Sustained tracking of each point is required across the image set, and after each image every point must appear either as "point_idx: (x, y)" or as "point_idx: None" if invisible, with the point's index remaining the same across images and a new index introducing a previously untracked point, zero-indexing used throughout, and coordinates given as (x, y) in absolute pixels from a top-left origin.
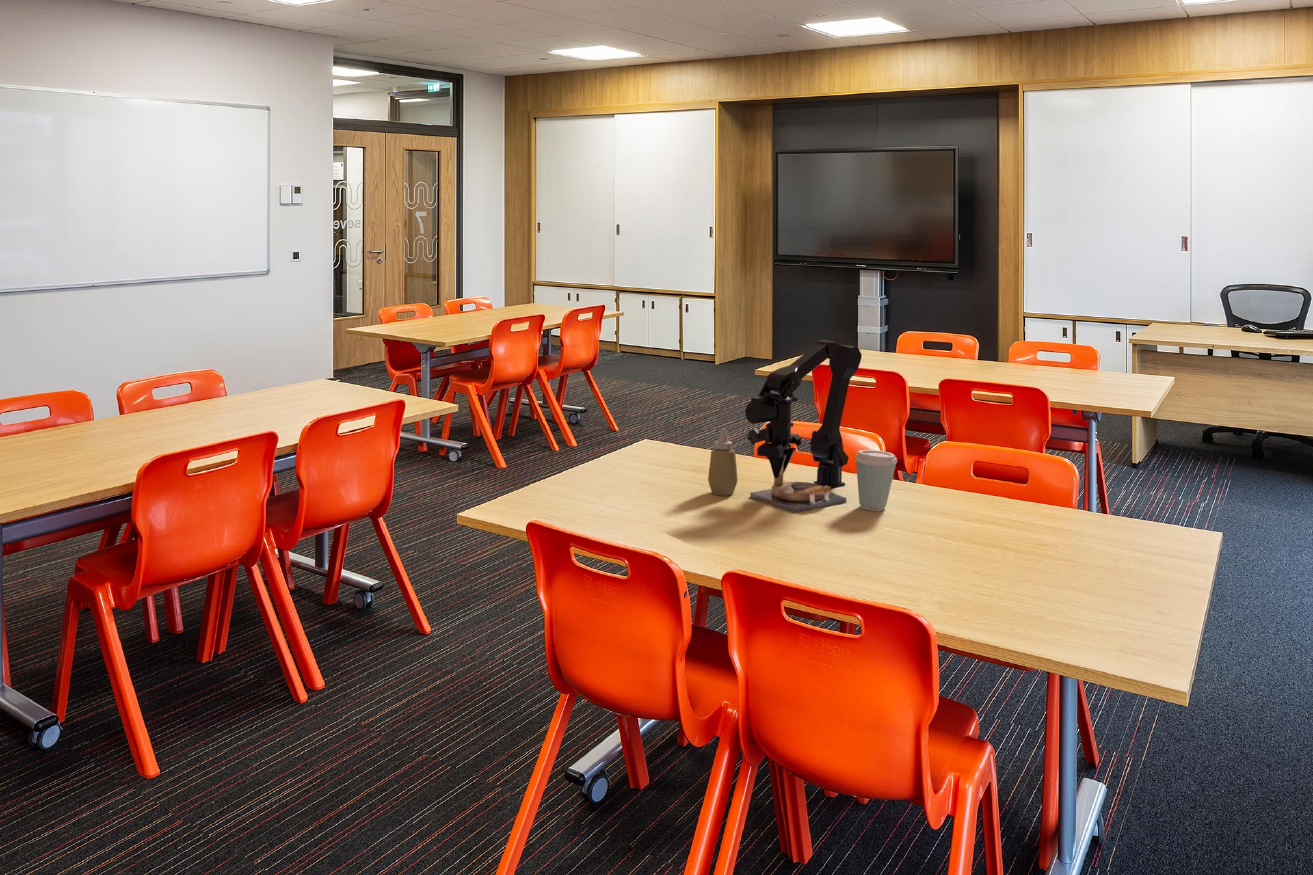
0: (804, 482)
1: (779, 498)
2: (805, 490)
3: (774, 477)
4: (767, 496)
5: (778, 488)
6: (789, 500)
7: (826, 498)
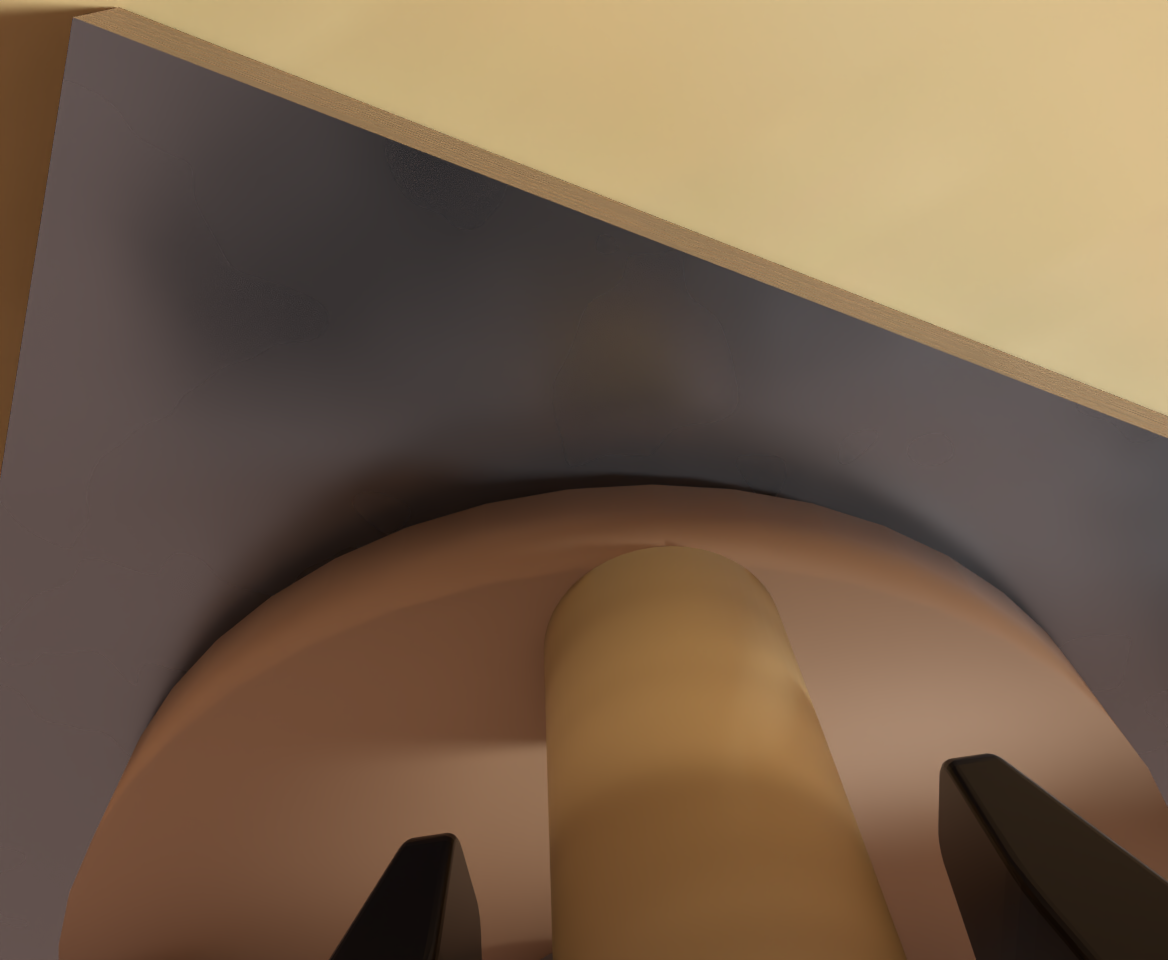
0: None
1: None
2: None
3: (407, 849)
4: (114, 560)
5: (339, 794)
6: None
7: None
